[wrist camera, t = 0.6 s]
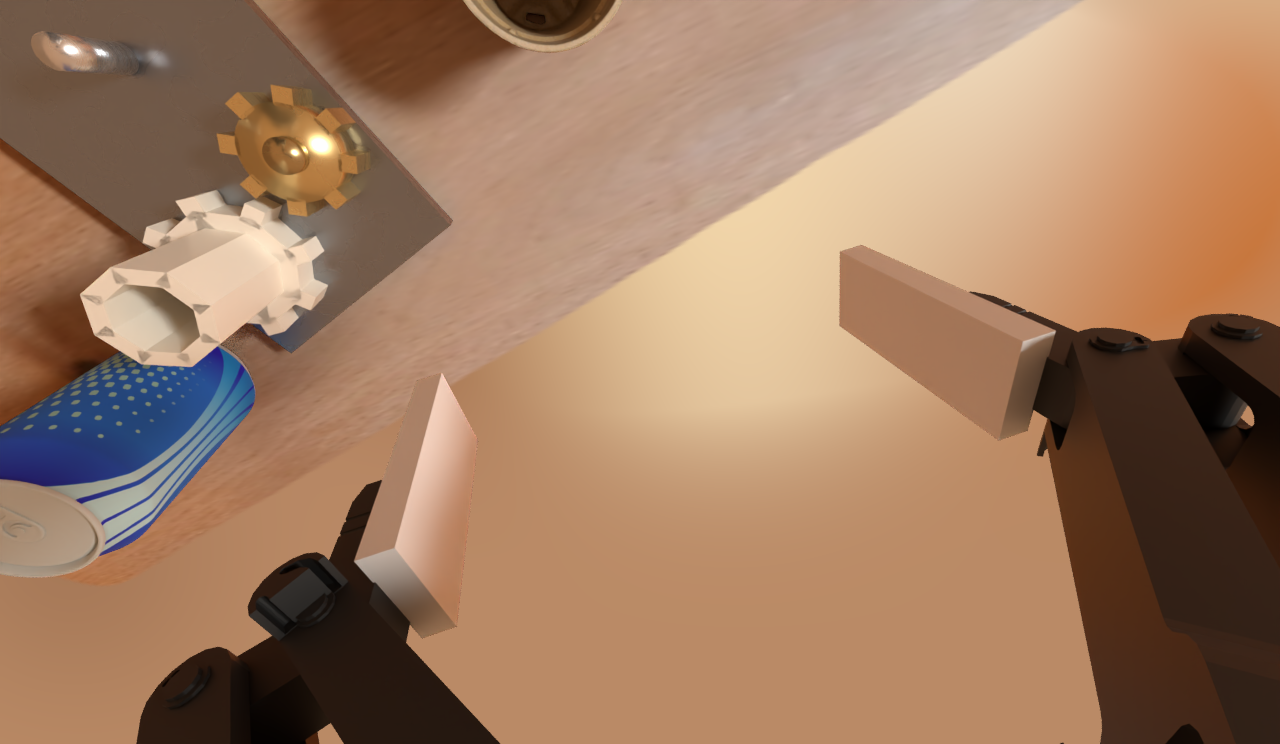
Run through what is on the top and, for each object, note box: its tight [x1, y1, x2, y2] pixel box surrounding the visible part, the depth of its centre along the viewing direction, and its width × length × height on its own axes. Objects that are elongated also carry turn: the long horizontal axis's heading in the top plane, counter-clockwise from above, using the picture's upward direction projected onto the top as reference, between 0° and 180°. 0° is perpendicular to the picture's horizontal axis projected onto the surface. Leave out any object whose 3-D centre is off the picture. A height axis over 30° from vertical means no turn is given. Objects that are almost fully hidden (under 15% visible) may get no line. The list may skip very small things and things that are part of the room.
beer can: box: [0, 345, 255, 578], centre depth 31 cm, size 8×8×16 cm
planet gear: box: [80, 190, 328, 367], centre depth 29 cm, size 9×9×10 cm
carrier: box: [0, 0, 453, 353], centre depth 29 cm, size 22×16×6 cm
